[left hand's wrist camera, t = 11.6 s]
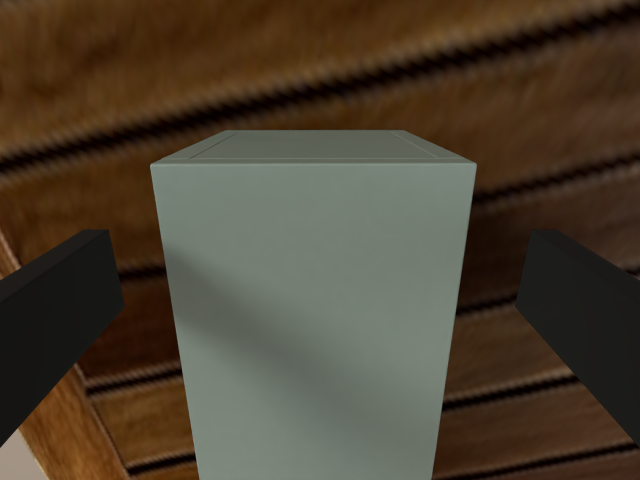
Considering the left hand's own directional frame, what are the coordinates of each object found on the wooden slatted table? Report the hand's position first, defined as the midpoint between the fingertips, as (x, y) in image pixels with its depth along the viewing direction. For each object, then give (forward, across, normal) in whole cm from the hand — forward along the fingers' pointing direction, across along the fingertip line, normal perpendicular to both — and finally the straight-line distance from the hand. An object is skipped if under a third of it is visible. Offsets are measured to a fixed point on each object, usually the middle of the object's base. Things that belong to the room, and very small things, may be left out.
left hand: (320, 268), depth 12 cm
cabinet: (+12, 0, -5) cm, 13 cm away
